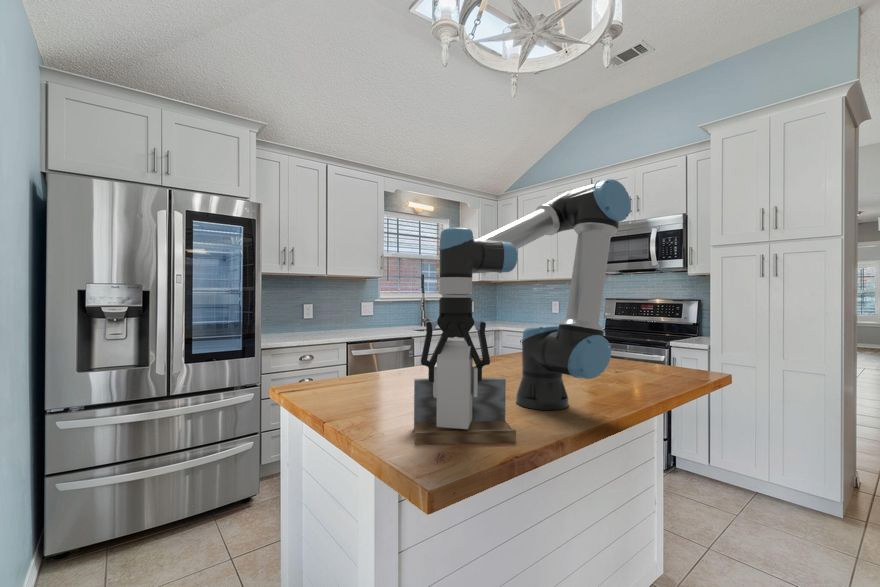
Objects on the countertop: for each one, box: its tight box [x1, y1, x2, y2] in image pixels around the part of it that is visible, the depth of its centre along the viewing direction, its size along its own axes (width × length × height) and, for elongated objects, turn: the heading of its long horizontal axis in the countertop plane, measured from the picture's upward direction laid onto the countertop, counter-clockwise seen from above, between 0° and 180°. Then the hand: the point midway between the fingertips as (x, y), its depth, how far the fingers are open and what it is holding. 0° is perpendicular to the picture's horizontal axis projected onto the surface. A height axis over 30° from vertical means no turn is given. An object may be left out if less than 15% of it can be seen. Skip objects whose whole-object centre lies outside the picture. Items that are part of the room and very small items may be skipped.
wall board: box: [413, 377, 517, 446], centre depth 95 cm, size 22×11×12 cm, turn 96°
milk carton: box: [436, 339, 474, 429], centre depth 94 cm, size 7×7×19 cm
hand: (455, 395), depth 94 cm, fingers closed on milk carton, 8 cm apart
